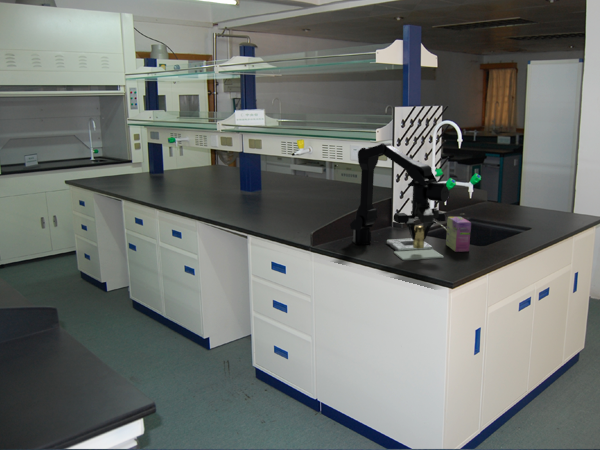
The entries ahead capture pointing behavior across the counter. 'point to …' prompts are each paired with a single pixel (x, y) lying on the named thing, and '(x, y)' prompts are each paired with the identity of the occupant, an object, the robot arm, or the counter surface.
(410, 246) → the white marble square slab
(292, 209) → the counter surface
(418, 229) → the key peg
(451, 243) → the box
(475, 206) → the counter surface
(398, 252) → the mat
